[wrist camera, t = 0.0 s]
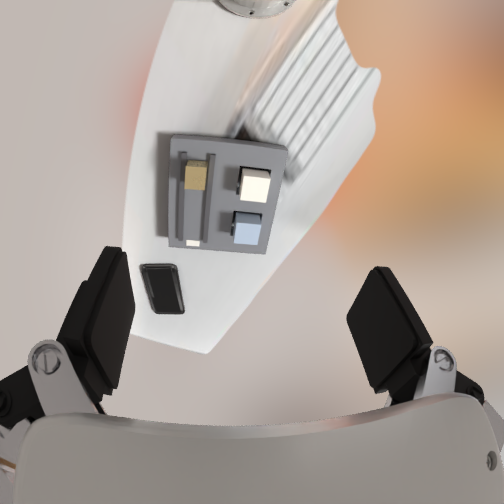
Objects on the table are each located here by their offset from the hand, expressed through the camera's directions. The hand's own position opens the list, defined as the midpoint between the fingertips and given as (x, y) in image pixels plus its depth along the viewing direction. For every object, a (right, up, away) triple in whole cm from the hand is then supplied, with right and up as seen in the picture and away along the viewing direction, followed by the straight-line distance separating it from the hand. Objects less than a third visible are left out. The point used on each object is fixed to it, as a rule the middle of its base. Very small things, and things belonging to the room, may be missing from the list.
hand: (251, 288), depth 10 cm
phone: (-20, -7, +50) cm, 54 cm away
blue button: (-1, +6, +38) cm, 38 cm away
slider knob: (-8, +14, +31) cm, 35 cm away
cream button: (0, +13, +33) cm, 36 cm away
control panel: (-5, +11, +37) cm, 39 cm away
